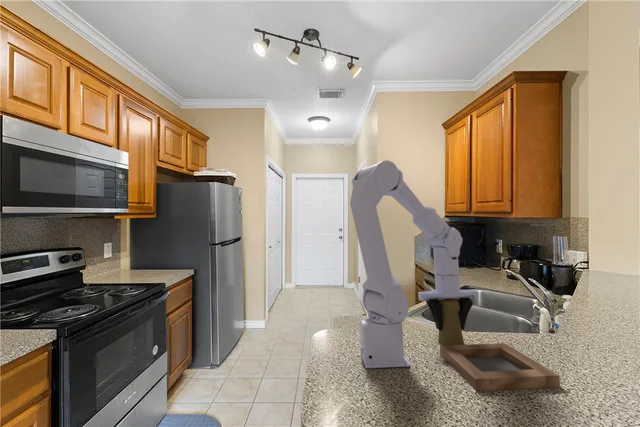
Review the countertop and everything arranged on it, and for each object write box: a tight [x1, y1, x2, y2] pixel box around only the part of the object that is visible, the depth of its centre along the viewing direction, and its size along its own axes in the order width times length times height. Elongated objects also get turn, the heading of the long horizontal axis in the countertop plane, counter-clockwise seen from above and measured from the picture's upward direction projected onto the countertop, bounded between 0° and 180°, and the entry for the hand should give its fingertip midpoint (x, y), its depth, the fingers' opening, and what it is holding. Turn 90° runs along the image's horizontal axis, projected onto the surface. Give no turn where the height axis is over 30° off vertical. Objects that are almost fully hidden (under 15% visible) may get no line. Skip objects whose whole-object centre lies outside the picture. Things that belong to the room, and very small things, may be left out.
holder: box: [439, 342, 561, 392], centre depth 59 cm, size 15×15×2 cm
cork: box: [437, 299, 465, 346], centre depth 73 cm, size 6×6×11 cm
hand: (450, 328), depth 73 cm, fingers closed on cork, 5 cm apart
